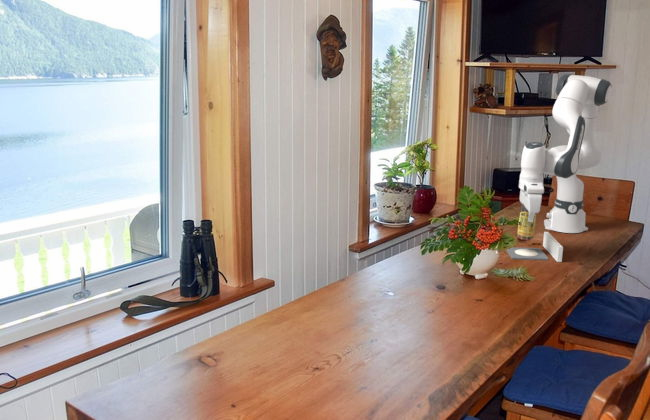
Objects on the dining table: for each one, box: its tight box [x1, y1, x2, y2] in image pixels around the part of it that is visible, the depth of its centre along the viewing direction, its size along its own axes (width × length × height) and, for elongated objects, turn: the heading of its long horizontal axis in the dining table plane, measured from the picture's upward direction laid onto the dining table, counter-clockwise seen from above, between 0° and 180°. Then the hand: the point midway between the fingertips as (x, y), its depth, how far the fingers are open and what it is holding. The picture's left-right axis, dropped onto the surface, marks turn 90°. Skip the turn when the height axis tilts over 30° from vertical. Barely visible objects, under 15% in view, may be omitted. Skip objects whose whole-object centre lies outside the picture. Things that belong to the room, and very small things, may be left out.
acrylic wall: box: [542, 231, 564, 263], centre depth 248 cm, size 22×2×6 cm, turn 175°
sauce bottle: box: [516, 203, 537, 241], centre depth 245 cm, size 7×6×20 cm
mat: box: [505, 246, 550, 261], centre depth 247 cm, size 14×14×1 cm
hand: (527, 218), depth 245 cm, fingers open, 8 cm apart
